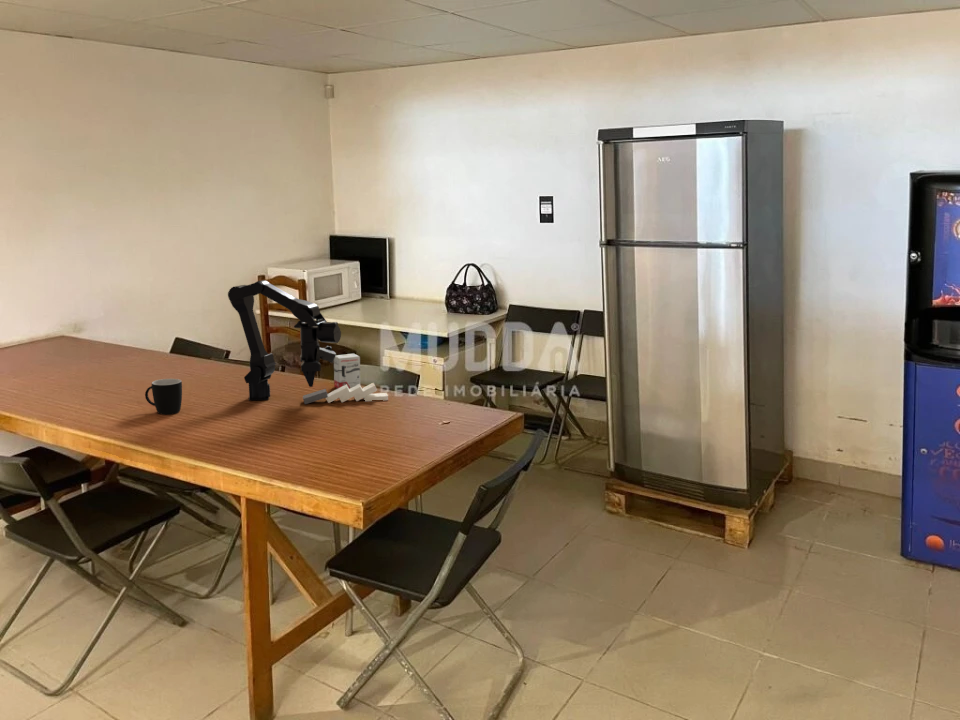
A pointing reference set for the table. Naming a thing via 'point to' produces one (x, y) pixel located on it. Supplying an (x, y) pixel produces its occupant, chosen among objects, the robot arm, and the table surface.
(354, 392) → the domino
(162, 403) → the mug
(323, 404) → the table surface
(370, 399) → the domino
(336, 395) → the domino
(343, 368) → the ink box
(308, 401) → the domino
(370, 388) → the domino
